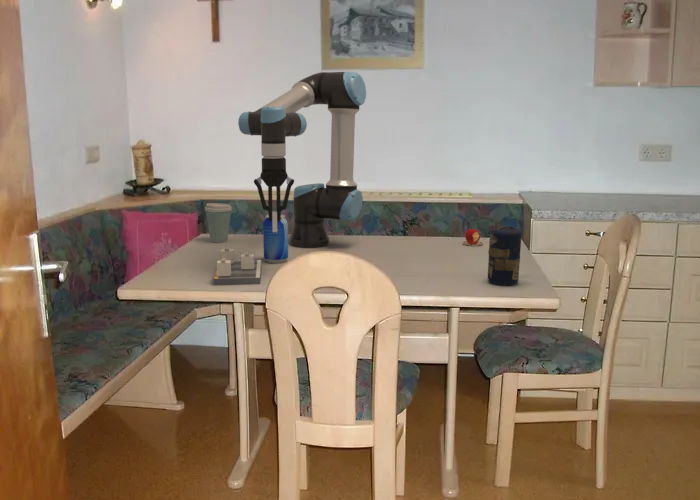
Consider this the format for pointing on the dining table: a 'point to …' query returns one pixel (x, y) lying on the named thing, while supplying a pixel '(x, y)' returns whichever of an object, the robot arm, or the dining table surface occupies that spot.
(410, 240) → the dining table surface
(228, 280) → the panel
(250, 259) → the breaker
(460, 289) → the dining table surface
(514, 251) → the canister
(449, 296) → the dining table surface
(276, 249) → the beer can
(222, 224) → the disposable coffee cup
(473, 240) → the apple
